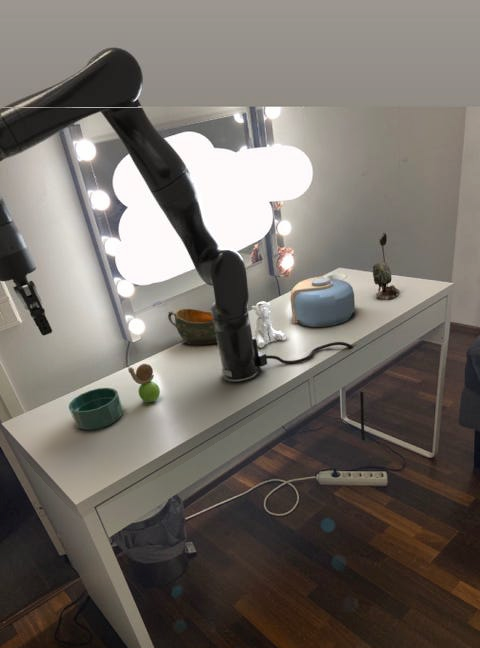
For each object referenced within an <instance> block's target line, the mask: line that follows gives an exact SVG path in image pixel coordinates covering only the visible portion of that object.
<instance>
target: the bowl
mask: <svg viewBox="0 0 480 648" xmlns="http://www.w3.org/2000/svg"><path fill="white" fill-rule="evenodd" d="M68 410H69V412H70V415H71V418H72V419H73V422H74V425H75V426H76V427H77V428H78V429H82V430H84V431H85V430H86V431H95V430H100V429H103V428H106V427H108V426H111V425H112V424H114V423H116V422H118V420H119V419H120V418H121V417H122V415H123V414H124V407H123V404H122V400H121V396H120V394H119V391H118V390H117V389H115V388H111V387H99V388H95V389H91V390H88V391H84V392H83V393H80V394H79V395H77V396H76V397H74V398H73V399H72V400H71V401H70V402H69V404H68Z"/></svg>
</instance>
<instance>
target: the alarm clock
mask: <svg viewBox="0 0 480 648" xmlns="http://www.w3.org/2000/svg"><path fill="white" fill-rule="evenodd" d="M289 296H290V297H289V299H290V307H291V315H292V316H291V317H292V323H293V324H300V325H302V326H305V327H309V328H311V327H312V328H325V327H333V326H336V325H339V324H343V323H345V322H347V321H348V320H350V319H351V317H352V316H353V313H354V312H355V311H356V303H355V292H354V288H353V286H352V285H351V284H350V283H349V282H347V281H346V280H342V279H338V278H329V277H325V276H324V275H321V276H315V277H310V278H307V279H303V280H301V281H299V282H298V283H297V284H296V285H295V286H294V287H293V288H292V289H291V291H290V295H289Z"/></svg>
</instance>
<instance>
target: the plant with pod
mask: <svg viewBox="0 0 480 648" xmlns="http://www.w3.org/2000/svg"><path fill="white" fill-rule="evenodd" d="M387 237H388V236H387V233H386V232H382V233H381V235H380V236H379V239H378V241H379V245H380V246H381V248H382V256H383V257H382V258H383V260H382V261H377V262H376V263H375V264H374V263H371V264H374V265H373V266H372V277H373V282H374V284H375V285H378V290H377V291H378V292H377V293H375V294H376V296H375V297H376V298H377V299H380V300H391V299H393V298H395V297H397V296H398V295H399V292H400V289H398V288H397V287H396V286H395V285H394V284H391V285H389V284H390V283H391V282H392V279H393V278H392V272H391V269H390V265H389V263H387V261H386V260H385V251H384V249H385V248H384V246H385V245H386V244H387Z"/></svg>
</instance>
